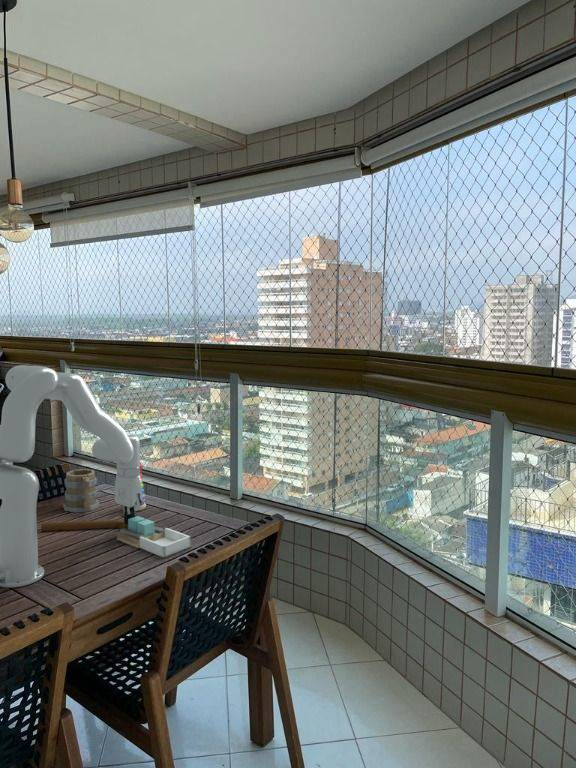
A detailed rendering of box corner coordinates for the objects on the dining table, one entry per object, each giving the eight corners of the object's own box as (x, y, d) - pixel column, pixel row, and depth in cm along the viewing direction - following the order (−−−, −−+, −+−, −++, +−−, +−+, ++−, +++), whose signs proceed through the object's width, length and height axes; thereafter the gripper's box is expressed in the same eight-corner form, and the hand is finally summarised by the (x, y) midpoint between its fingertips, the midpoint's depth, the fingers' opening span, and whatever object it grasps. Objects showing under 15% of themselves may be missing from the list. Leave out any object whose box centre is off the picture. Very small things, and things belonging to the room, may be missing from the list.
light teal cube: (144, 537, 180) (144, 525, 180) (137, 534, 183) (137, 522, 182) (154, 533, 183) (154, 521, 183) (147, 530, 186) (146, 519, 185)
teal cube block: (135, 533, 183) (135, 521, 183) (128, 530, 186) (128, 519, 185) (145, 530, 186) (145, 518, 186) (138, 527, 189) (138, 516, 188)
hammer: (38, 536, 186) (129, 533, 190) (38, 527, 185) (129, 524, 190) (48, 524, 197) (134, 521, 201) (48, 515, 197) (134, 513, 201)
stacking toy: (142, 512, 210) (142, 464, 208) (122, 511, 210) (121, 463, 208) (148, 505, 218) (147, 459, 216) (128, 505, 218) (127, 458, 216)
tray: (163, 557, 169) (163, 546, 169) (139, 547, 176) (139, 537, 176) (190, 546, 177) (190, 536, 177) (166, 537, 185) (166, 527, 185)
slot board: (137, 547, 176) (137, 538, 176) (117, 539, 183) (116, 530, 183) (167, 537, 186) (166, 528, 185) (146, 529, 192) (146, 521, 192)
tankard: (62, 504, 218) (61, 467, 216) (95, 500, 224) (94, 464, 222) (68, 520, 200) (67, 480, 199) (104, 515, 206) (103, 476, 205)
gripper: (106, 470, 188) (107, 522, 190) (132, 477, 179) (133, 532, 181) (124, 465, 194) (125, 516, 196) (151, 473, 185) (152, 525, 187)
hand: (129, 523), depth 188 cm, fingers closed
